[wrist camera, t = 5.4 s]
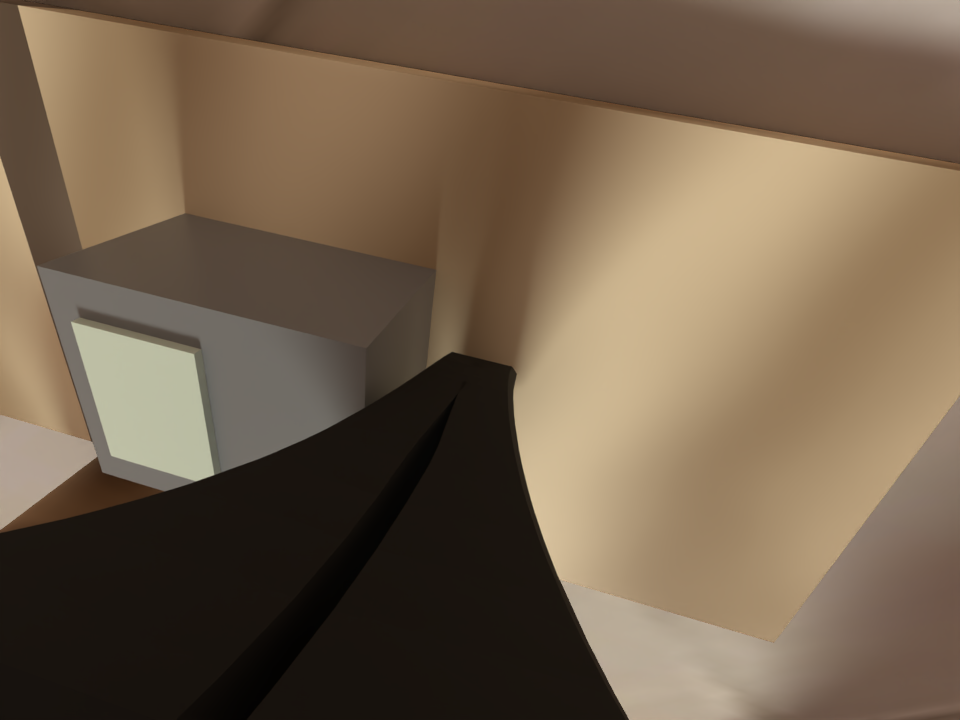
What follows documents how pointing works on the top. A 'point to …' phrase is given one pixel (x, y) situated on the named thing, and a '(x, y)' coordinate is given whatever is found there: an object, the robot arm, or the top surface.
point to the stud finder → (228, 342)
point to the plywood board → (535, 280)
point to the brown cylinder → (82, 497)
